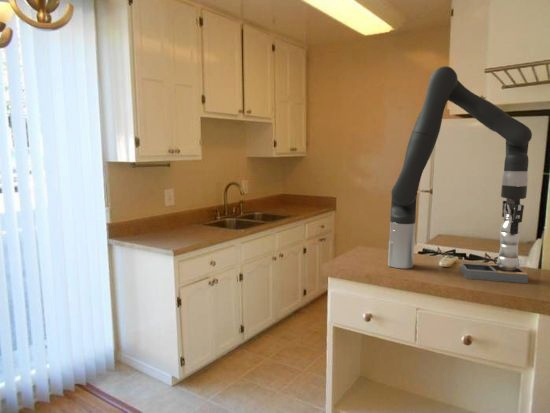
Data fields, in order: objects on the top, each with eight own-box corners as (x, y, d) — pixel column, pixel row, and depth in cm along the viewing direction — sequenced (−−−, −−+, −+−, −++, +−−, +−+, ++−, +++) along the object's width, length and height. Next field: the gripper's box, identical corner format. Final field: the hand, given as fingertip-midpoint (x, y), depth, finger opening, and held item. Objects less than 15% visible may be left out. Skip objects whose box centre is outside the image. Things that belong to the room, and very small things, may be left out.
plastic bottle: (521, 273, 136) (526, 215, 133) (500, 271, 137) (504, 214, 135) (514, 267, 142) (518, 213, 140) (493, 266, 143) (498, 212, 141)
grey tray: (466, 278, 138) (467, 269, 138) (460, 270, 148) (460, 262, 148) (527, 283, 134) (528, 273, 133) (516, 274, 144) (517, 265, 143)
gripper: (496, 182, 144) (492, 228, 146) (509, 185, 130) (505, 235, 132) (519, 183, 142) (515, 229, 144) (534, 186, 128) (530, 236, 130)
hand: (510, 231), depth 138 cm, fingers closed on plastic bottle, 6 cm apart
